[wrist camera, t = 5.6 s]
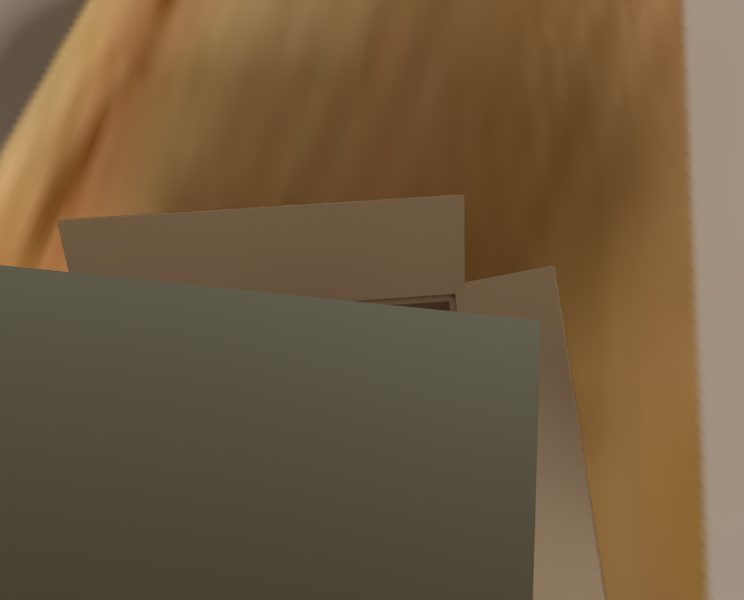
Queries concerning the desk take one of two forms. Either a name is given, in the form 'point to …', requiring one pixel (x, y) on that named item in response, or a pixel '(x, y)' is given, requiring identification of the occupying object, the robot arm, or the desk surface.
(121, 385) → the box
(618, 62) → the desk surface
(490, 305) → the carton
